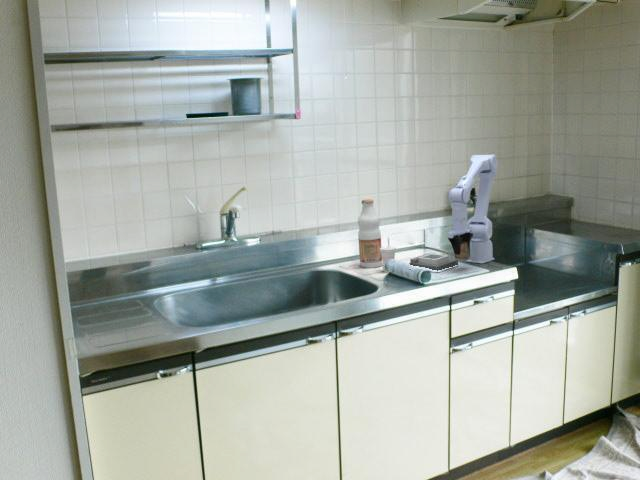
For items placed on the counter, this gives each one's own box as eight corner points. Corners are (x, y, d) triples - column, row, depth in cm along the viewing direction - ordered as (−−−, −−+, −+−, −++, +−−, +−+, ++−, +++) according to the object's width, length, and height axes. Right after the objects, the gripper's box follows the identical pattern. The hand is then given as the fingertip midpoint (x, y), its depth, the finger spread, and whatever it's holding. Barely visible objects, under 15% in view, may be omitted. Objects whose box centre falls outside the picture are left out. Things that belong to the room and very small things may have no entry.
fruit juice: (355, 266, 291) (351, 201, 286) (372, 262, 296) (368, 198, 291) (369, 269, 283) (365, 202, 278) (387, 265, 288) (383, 199, 283)
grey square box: (430, 262, 288) (429, 251, 288) (458, 265, 278) (457, 254, 278) (409, 269, 279) (408, 258, 278) (437, 273, 269) (437, 261, 268)
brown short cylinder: (459, 255, 274) (459, 240, 273) (470, 257, 271) (469, 241, 269) (452, 258, 271) (451, 242, 270) (463, 259, 267) (462, 243, 266)
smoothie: (391, 273, 273) (389, 239, 271) (378, 272, 277) (376, 238, 274) (399, 270, 278) (398, 236, 276) (386, 268, 282) (384, 235, 279)
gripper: (457, 222, 260) (459, 257, 263) (479, 216, 270) (480, 250, 272) (442, 221, 265) (443, 255, 268) (463, 215, 275) (464, 248, 277)
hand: (461, 252), depth 270 cm, fingers closed on brown short cylinder, 5 cm apart
